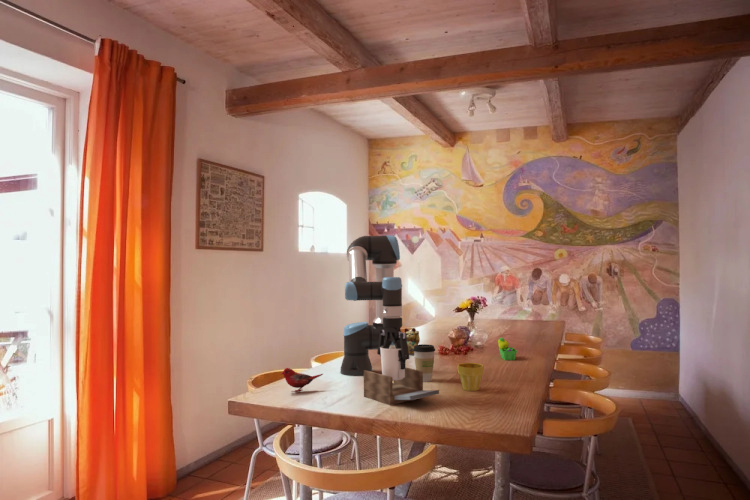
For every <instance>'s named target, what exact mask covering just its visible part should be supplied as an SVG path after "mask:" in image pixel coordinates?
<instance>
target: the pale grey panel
mask: <svg viewBox="0 0 750 500" xmlns="http://www.w3.org/2000/svg"><path fill="white" fill-rule="evenodd" d="M439 394H440V389H435V390H433V389H431V390H426V389H425V390H424V389H423V391H416V392H412V393H407V394H403V395H398V396H394V400H411V401H415V400H417V399H423V398H427V397H430V396H435V395H439Z"/></svg>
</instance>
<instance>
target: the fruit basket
mask: <svg viewBox="0 0 750 500" xmlns="http://www.w3.org/2000/svg"><path fill="white" fill-rule="evenodd" d="M497 343H498V350H499V354H500V357H501V359H503V360H504V361H515V360H516V357H517V353H518V350H517V349H515V348H514V347H509V346H510V345H509V344H510V343H509V342H508V341H507V340H506V339H505V338H504V337H499V338H498V340H497Z"/></svg>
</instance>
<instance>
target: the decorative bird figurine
mask: <svg viewBox="0 0 750 500" xmlns="http://www.w3.org/2000/svg"><path fill="white" fill-rule="evenodd" d="M280 375H283V377H284V378H285V381H286V383H287V385H289V386H290V387H292V388H295V389H296V390H291V391H290V392H292V393H294V392H295V393H298V392H302V391H305V390H304V387H305V386H308V385H309V384H311V383H312V381H313V380H315V379H317V378H320V377H322V376H323V375H324V373H321V374H315V375H313V376H311V375H310V374H305V373H300V372H296V371H295V370H294V369H292V368H289V367H286V368H284V369H283V371H282V372H281V373H280Z"/></svg>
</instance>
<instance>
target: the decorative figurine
mask: <svg viewBox="0 0 750 500" xmlns="http://www.w3.org/2000/svg"><path fill="white" fill-rule="evenodd" d="M404 333H407V338H406V339H407V345H408V351H409V356H415V355H414V351H413V349H414V346H415V345H420V341H421V339H420V331H419V330H417V329H416V328H415V327H414V328H412V329H411V330H409V328H407V327H406V328H404Z"/></svg>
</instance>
